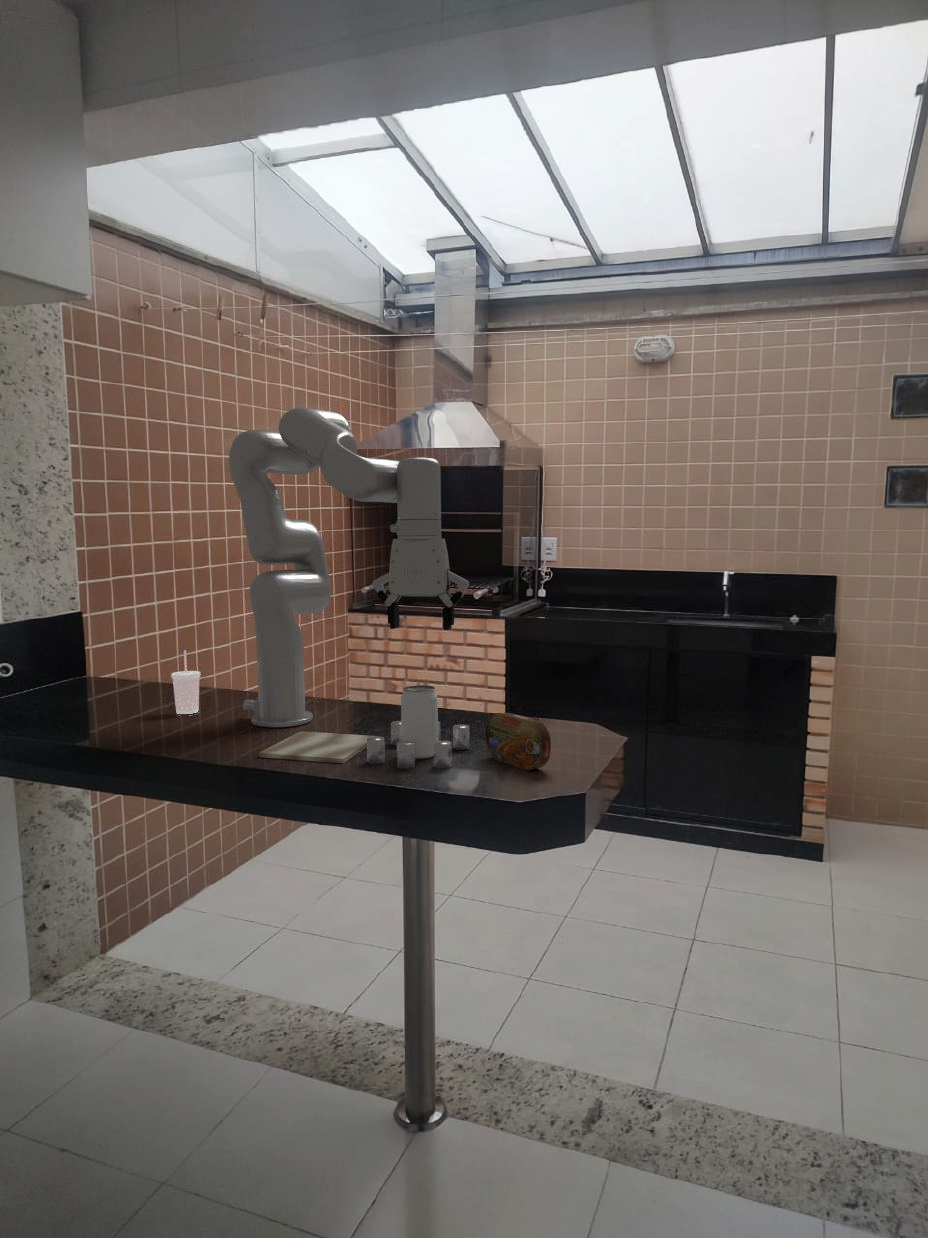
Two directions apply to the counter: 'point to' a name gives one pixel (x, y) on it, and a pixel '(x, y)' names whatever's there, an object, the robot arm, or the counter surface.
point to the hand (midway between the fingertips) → (420, 628)
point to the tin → (518, 741)
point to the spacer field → (408, 747)
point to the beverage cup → (186, 690)
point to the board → (317, 747)
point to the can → (420, 719)
